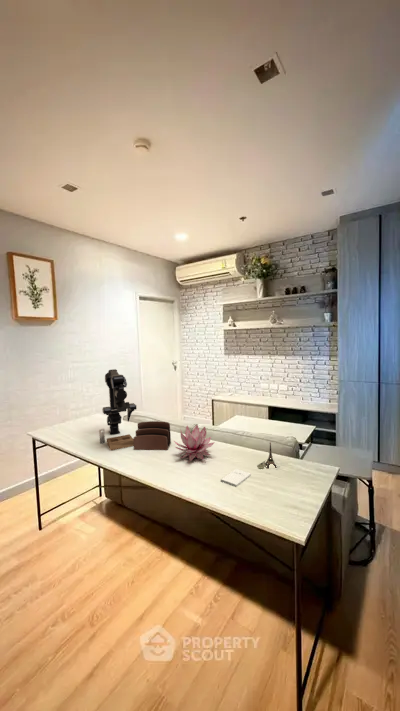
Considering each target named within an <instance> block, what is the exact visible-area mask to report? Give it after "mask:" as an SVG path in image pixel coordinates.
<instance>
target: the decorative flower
mask: <svg viewBox="0 0 400 711" xmlns="http://www.w3.org/2000/svg"><path fill="white" fill-rule="evenodd" d="M180 430H182V429H181V428H180ZM206 437H207V428H206V426H204V427H202V429H201V430H200V428H199V424H196V425H195V426H194V428H193V430H192V431H191V430H190V428H189V426H188V425H186V428H185V434H184V433H183V432H182V431H180V439H181V441H182V443H183V445H182V444H180V443H178V442H176V441H175V440H173V443H175V444H176V445H177V446H178V447H177V446H175V448H176V449H177V450H179V451H183V452H179V454H181V455H182V454H184V455H183V456H181V457H180V459H184V458H186V457H187V459H189V462H191V461H193V460H194V458H196V459H197V460H199V459H201V460H204V459H205V458H204V456H211V454H210V453H209V452H207V451H208V449H209V448H211V447H213V445H214V444H215V442H210V441H211V439H212V436H209V437H207V438H206ZM180 447H181V448H180Z"/></svg>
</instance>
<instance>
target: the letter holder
mask: <svg viewBox="0 0 400 711" xmlns="http://www.w3.org/2000/svg"><path fill="white" fill-rule="evenodd" d="M132 438H133V441H134V446H133V450H134V451H168V450H169V448H170V446H171V444H172V438H171V424H170V422H167V421H159V420H158V421H155V420H154V421H153V420H152V421H151V420H150V421H142V422H138V423H137V429H136V430H135V436H134V437H132Z"/></svg>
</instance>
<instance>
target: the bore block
mask: <svg viewBox="0 0 400 711" xmlns="http://www.w3.org/2000/svg"><path fill="white" fill-rule="evenodd" d="M133 438H134V437H132V436H131V434H129V433H128V434H125V435H124V434H123V435H119V436H113V437H107V438H106V444H107V447H108V449H109V451H110V452H112V451H117V450H122V449H126V448H131V447H134V441H133Z"/></svg>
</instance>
